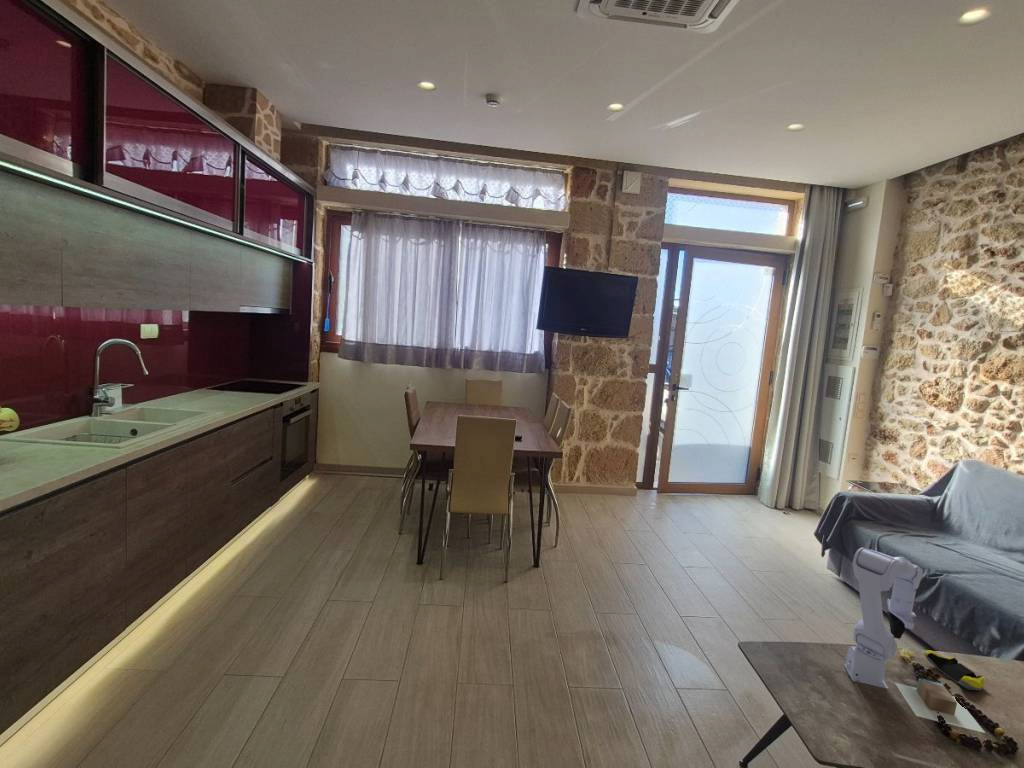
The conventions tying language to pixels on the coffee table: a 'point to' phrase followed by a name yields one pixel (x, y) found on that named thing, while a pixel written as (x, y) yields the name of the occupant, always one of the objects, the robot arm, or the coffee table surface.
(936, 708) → the walnut block
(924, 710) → the sage mat
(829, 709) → the coffee table surface
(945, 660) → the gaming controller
